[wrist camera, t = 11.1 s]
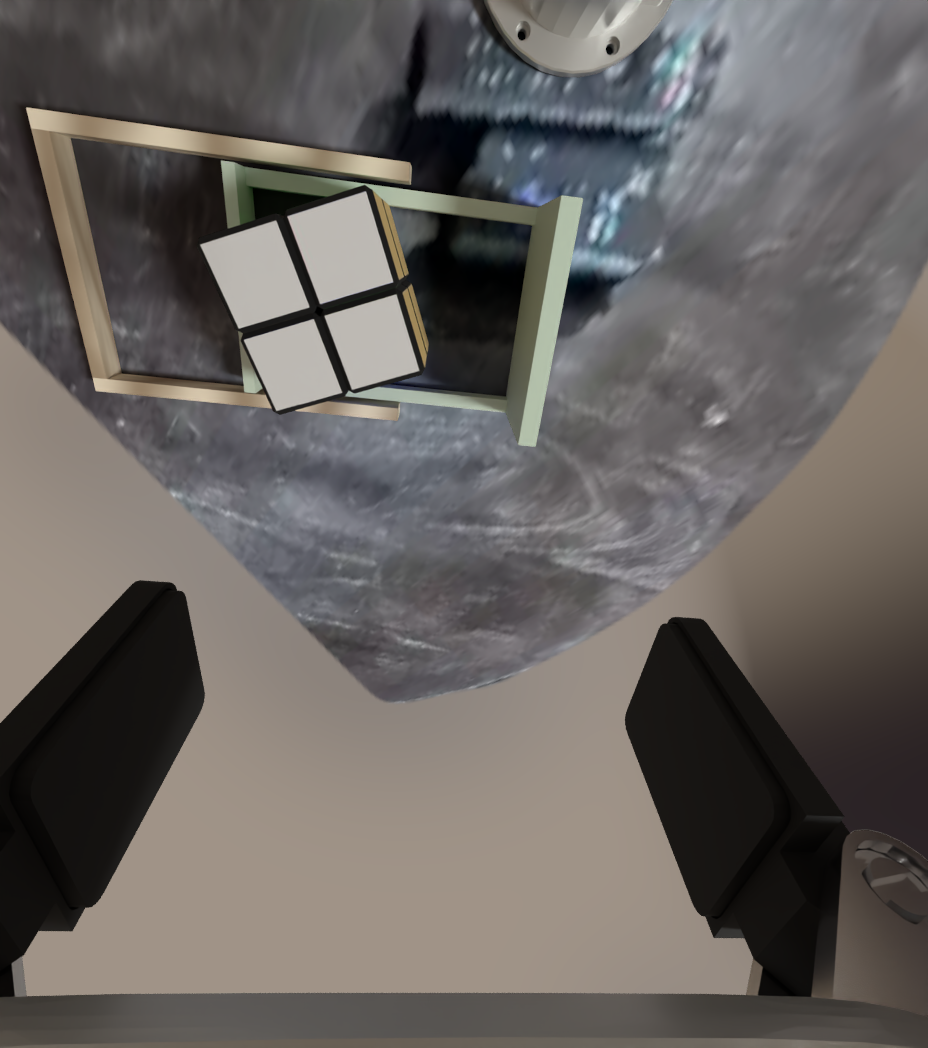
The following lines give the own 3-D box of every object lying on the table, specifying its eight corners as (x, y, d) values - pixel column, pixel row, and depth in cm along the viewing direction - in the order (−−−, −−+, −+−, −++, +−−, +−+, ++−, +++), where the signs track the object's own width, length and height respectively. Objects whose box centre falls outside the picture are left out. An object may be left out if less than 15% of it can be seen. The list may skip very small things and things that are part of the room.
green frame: (551, 211, 34) (583, 198, 26) (518, 409, 41) (535, 446, 33) (238, 167, 33) (173, 140, 25) (257, 383, 39) (210, 415, 31)
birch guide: (411, 167, 33) (409, 162, 31) (399, 413, 41) (397, 420, 39) (49, 115, 31) (26, 107, 29) (111, 384, 39) (95, 391, 37)
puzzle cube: (311, 381, 39) (273, 417, 31) (253, 243, 35) (190, 239, 26) (430, 347, 38) (427, 374, 30) (388, 200, 34) (369, 181, 25)
